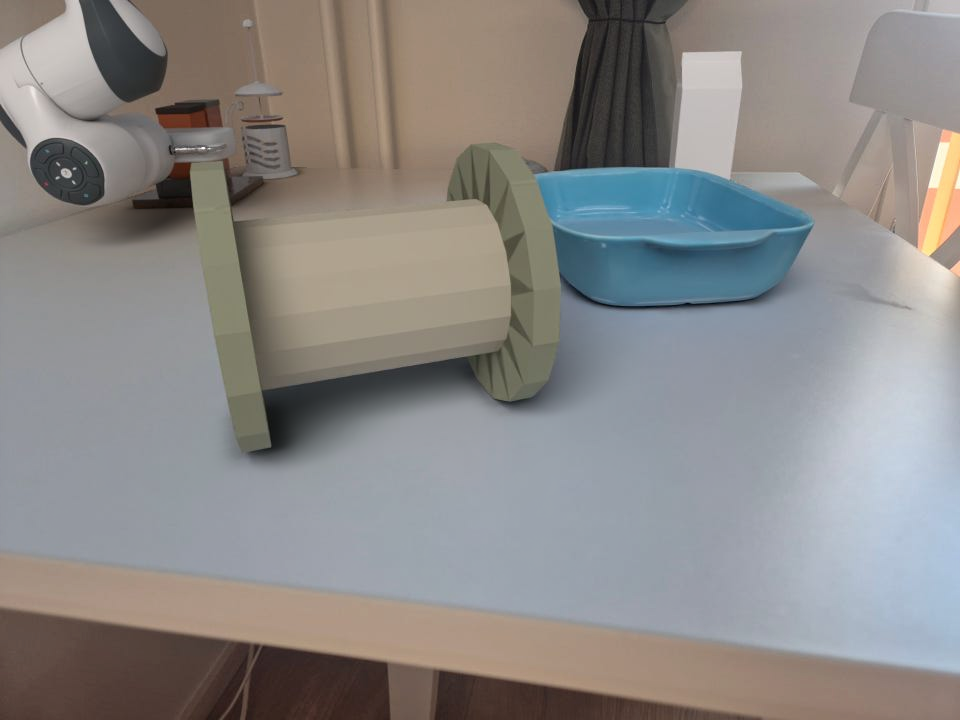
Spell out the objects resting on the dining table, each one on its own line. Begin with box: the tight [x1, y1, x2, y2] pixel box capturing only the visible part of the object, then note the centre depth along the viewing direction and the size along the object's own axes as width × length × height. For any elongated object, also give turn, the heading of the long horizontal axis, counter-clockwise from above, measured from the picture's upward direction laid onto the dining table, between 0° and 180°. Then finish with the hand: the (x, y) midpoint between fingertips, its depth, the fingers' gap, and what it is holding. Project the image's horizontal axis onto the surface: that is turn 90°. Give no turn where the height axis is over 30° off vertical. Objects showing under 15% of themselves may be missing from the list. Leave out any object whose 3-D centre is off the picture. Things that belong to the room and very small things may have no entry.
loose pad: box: [154, 104, 212, 178], centre depth 100 cm, size 5×6×12 cm
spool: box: [190, 142, 562, 454], centre depth 39 cm, size 16×15×15 cm
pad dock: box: [131, 98, 265, 209], centre depth 103 cm, size 14×18×13 cm
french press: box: [224, 18, 299, 180], centre depth 117 cm, size 10×12×25 cm
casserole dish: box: [534, 166, 815, 307], centre depth 67 cm, size 37×22×7 cm, turn 5°
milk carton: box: [668, 50, 743, 180], centre depth 88 cm, size 7×7×19 cm
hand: (175, 138), depth 96 cm, fingers open, 8 cm apart
